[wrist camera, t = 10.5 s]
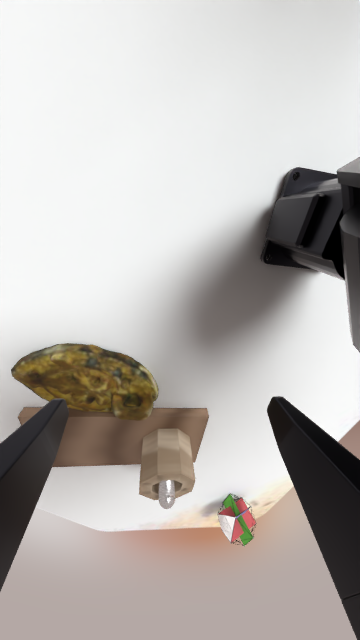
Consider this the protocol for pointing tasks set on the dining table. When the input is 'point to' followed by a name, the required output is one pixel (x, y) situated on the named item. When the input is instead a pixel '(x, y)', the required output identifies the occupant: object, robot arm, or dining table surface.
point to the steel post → (166, 493)
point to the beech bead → (166, 462)
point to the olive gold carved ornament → (89, 380)
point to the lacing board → (119, 434)
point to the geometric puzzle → (236, 520)
